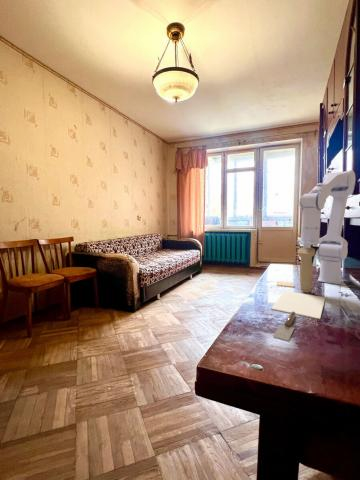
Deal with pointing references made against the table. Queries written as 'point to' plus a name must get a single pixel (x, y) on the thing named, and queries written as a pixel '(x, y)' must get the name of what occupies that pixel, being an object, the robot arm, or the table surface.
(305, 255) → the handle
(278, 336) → the turner
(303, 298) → the felt mat
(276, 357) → the table surface
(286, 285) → the beige tile
